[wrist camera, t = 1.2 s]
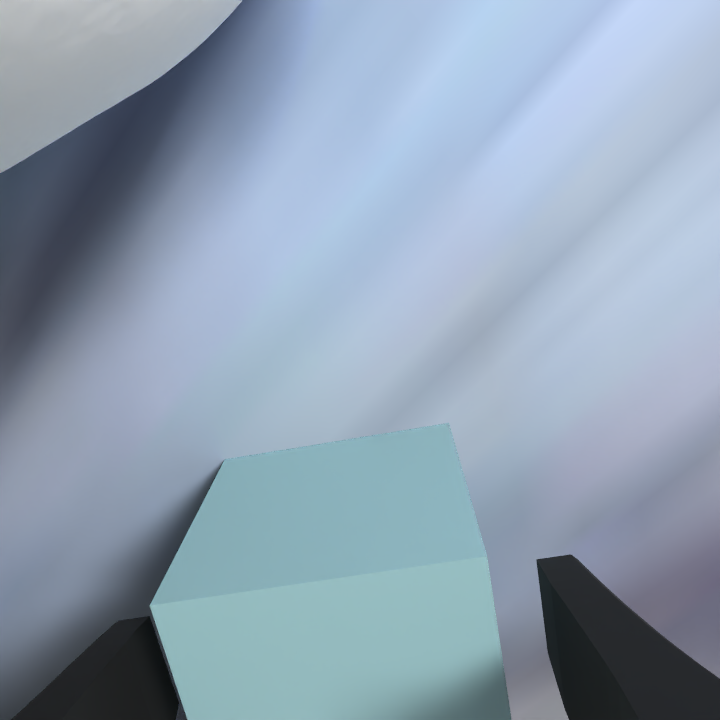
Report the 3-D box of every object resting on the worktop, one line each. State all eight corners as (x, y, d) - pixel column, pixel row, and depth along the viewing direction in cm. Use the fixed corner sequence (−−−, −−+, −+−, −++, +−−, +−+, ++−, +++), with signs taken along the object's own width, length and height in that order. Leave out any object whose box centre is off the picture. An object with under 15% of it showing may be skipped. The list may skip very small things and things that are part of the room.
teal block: (478, 613, 15) (525, 817, 10) (275, 641, 16) (231, 851, 11) (448, 421, 14) (487, 555, 9) (225, 457, 14) (149, 606, 9)
